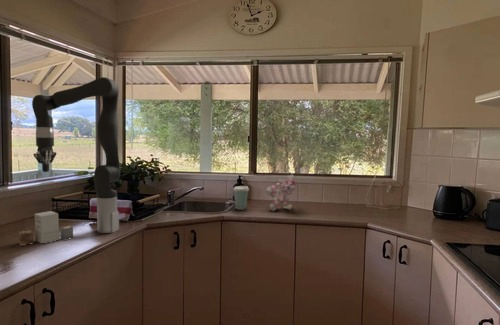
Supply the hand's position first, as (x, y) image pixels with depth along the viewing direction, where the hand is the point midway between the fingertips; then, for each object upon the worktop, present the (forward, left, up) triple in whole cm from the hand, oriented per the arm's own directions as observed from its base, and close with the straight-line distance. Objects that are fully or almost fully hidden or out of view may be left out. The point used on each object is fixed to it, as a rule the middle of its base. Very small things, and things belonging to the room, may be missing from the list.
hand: (45, 171), depth 165 cm
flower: (-113, -72, -29) cm, 137 cm away
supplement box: (-13, +16, -29) cm, 36 cm away
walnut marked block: (-7, +21, -29) cm, 37 cm away
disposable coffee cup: (-87, -69, -29) cm, 114 cm away
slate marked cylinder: (-19, +11, -29) cm, 36 cm away
